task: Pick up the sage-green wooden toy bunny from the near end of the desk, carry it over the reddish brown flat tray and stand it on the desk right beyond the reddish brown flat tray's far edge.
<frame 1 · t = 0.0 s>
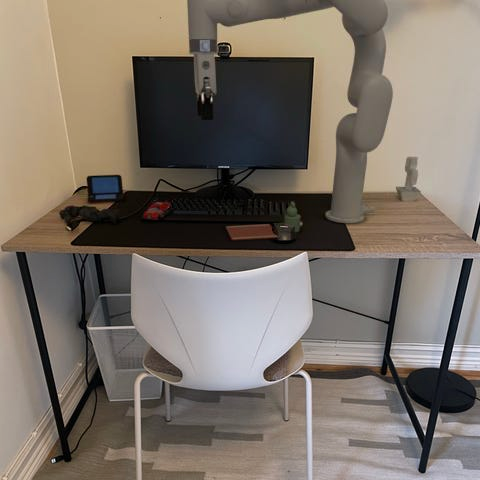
hand: (205, 117, 137), 31 cm above the table, tool pointing down, fingers open, 9 cm apart
reddish brown flat tray: (251, 232, 146), on the table
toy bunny: (291, 230, 148), on the table
robot figurine: (89, 220, 155), on the table
figurine: (406, 199, 179), on the table
handheld game console: (106, 199, 177), on the table
race car: (158, 216, 160), on the table
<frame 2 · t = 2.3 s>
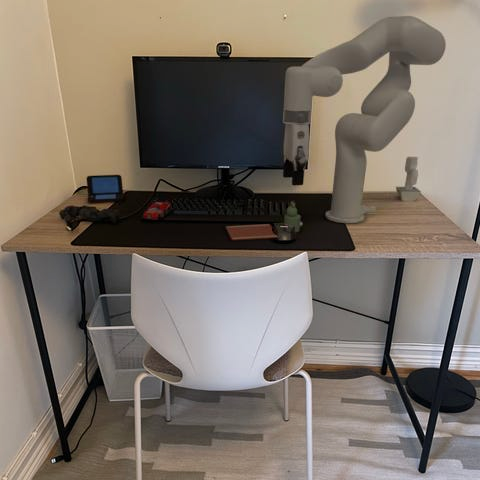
hand: (292, 181, 141), 15 cm above the table, tool pointing down, fingers open, 9 cm apart
nothing on the table moved.
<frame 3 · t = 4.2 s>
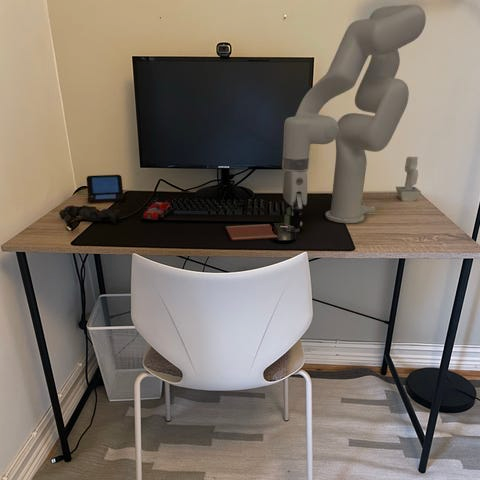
hand: (291, 225, 147), 2 cm above the table, tool pointing down, fingers closed on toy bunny, 4 cm apart
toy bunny: (291, 230, 148), on the table, touching gripper
everything else where it was.
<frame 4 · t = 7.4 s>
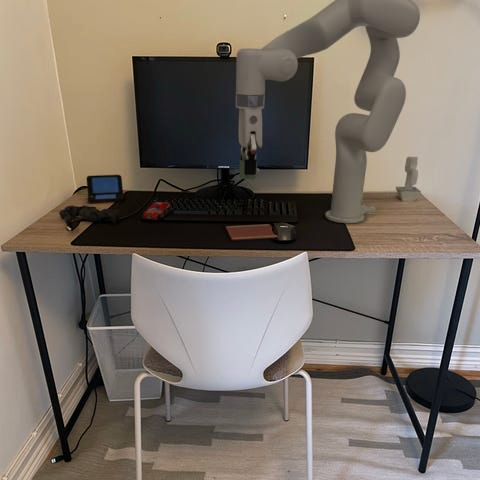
hand: (248, 171, 137), 18 cm above the table, tool pointing down, fingers closed on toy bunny, 4 cm apart
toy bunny: (247, 177, 138), point 16 cm above the table, touching gripper
everything else where it was.
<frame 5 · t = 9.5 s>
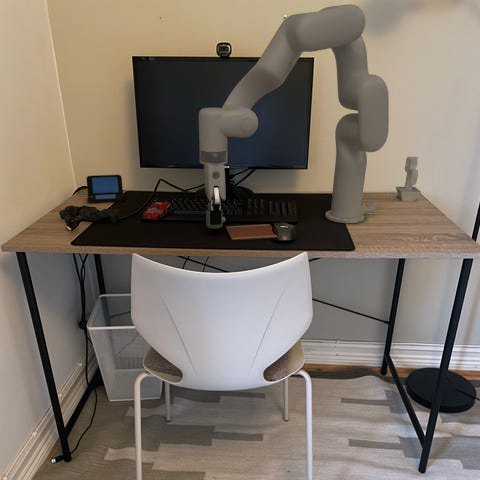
hand: (214, 220, 142), 4 cm above the table, tool pointing down, fingers closed on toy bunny, 4 cm apart
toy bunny: (214, 225, 143), point 3 cm above the table, touching gripper
everything else where it was.
when the fingers open (2 cm above the table, at t = 10.6 s): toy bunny stays where it is, on the table.
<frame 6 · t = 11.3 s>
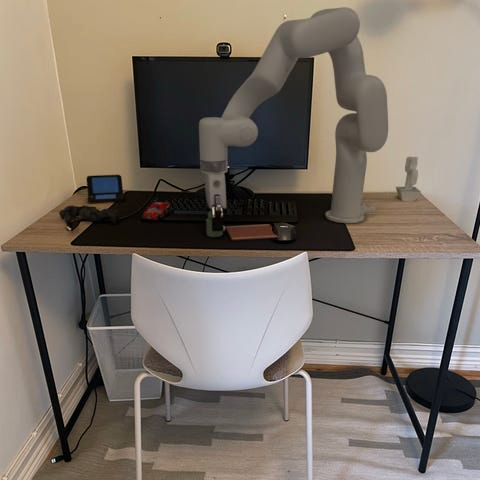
hand: (215, 225, 143), 3 cm above the table, tool pointing down, fingers open, 9 cm apart
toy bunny: (214, 234, 144), on the table
everything else where it was.
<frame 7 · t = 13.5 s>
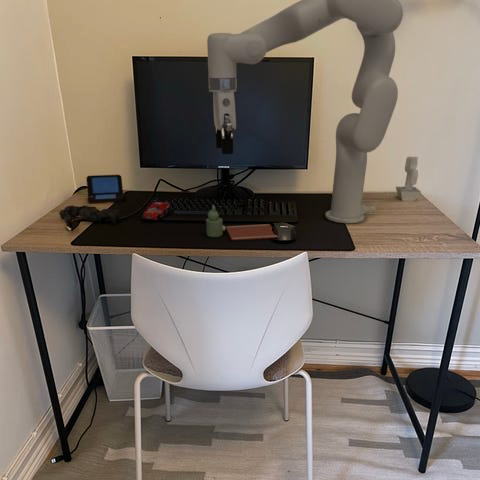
hand: (224, 150, 141), 22 cm above the table, tool pointing down, fingers open, 9 cm apart
nothing on the table moved.
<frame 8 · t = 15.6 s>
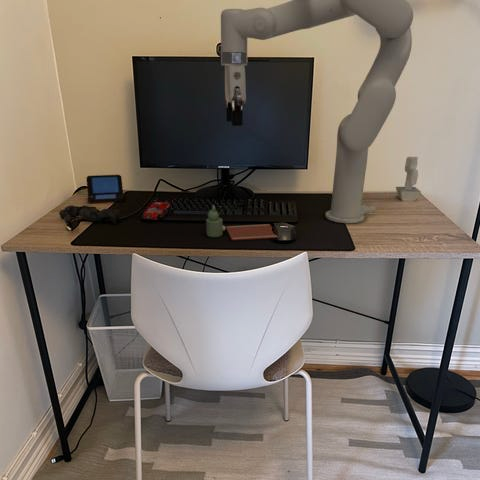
hand: (234, 123, 148), 28 cm above the table, tool pointing down, fingers open, 9 cm apart
nothing on the table moved.
at the end: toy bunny 0.3 cm from the target spot, on the table; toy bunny touching table; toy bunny tilted 0° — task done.
